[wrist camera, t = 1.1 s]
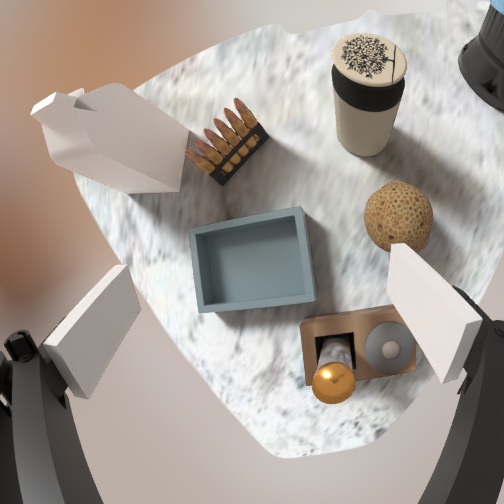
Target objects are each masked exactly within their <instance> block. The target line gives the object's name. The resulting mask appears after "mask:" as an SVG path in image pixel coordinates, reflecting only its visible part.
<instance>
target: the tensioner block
mask: <svg viewBox="0 0 504 504" xmlns="http://www.w3.org/2000/svg"><path fill="white" fill-rule="evenodd" d="M349 332H353V342H354V355H351V360H352V369H353V373H354V378H355V381H359V380H366V379H373V378H379V377H385V376H391V375H396V374H401V373H406V372H411V371H416V351H415V337H414V336H413V334H412V333H411V331H410V329H409V328H408V326H407V325H406V323H405V321H404V320H403V318H402V317H401V315H400V314H399V312H398V311H397V309H396V308H395V306H394V305H393V304H391V305H386V306H380V307H374V308H368V309H361V310H355V311H348V312H341V313H334V314H326V315H319V316H311V317H305V318H304V320H303V321H302V323H301V324H300V333H301V342H302V351H303V360H304V370H305V380H306V386H312V382H313V378H314V375H315V373H316V371H317V367H318V363H319V359H320V355H321V352H320V342H319V336H326V335H334V334H342V333H349Z"/></svg>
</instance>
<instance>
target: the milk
mask: <svg viewBox="0 0 504 504" xmlns="http://www.w3.org/2000/svg"><path fill="white" fill-rule="evenodd" d="M31 116H32V117H34V118H35V119H36V120H38V121H39V122H41V123H42V128H43V132H44V136H45V140H46V143H47V147H48V150H49V153H50V156H51V158H52V160H53V161H54V163H55V164H57V165H58V166H61V167H63V168H65V169H68V170H70V171H73V172H75V173H78V174H80V175H82V176H85V177H87V178H90V179H92V180H95V181H97V182H99V183H102V184H104V185H107V186H109V187H112V188H114V189H116V190H119V191H121V192H124V193H126V194H137V193H161V192H180V186H181V179H182V172H183V165H184V159H185V152H184V151H185V150H186V147H187V141H188V135H189V129H187V128H186V127H185V126H183V125H182V124H180V123H179V122H178V121H176V120H175V119H173V118H172V117H170V116H169V115H168V114H166V113H165V112H163V111H162V110H160V109H159V108H157V107H156V106H154V105H153V104H151V103H150V102H148V101H147V100H145V99H144V98H142V97H141V96H139V95H138V94H136V93H135V92H133V91H132V90H130V89H128V88H127V87H126V86H124V85H122V84H120V83H111V84H108V85H105V86H103V87H100V88H98V89H95V90H93V91H91V92H88V93H86V94H85V93H84V89H83V88H81V89H79V90H76V91H74V92H72V93H70V94H62V93H59V92H55V93H54V94H52V95H50V96H49V97H47V98H45V99H44V100H42V101H41V102H39V103H37V104H36V105H34V107H33V109H32V112H31Z"/></svg>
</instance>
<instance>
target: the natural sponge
mask: <svg viewBox="0 0 504 504" xmlns="http://www.w3.org/2000/svg"><path fill="white" fill-rule="evenodd" d="M432 219H433V211H432V207H431V204H430V202H429V200H428V198H427V197H426V196H425V195H424V193H422V192H421V191H420V190H419V189H417V188H416V187H414V186H413V185H411V184H408V183H406V182H403V181H391V182H389V183H387V184H386V185H384V186H383V187H382V188H381V189H380V190H378V191H377V192H375V193H373V194H372V195H371V197H370V198H369V200H368V202H367V204H366V208H365V214H364V221H365V226H366V230H367V232H368V234H369V236H370V237H371V239H372V240H373V242H374V243H375V244H376V245H377V246H378V247H380V248H381V249H383V250H385V251H387V252H391V244H398V243H405V244H406V245H407V246H409V247H410V248H411V249H412V250H413V251H414V252H418V251H420V250H421V249H423V248H424V247H425V246H426V244H427V242H428V239H429V236H430V232H431V226H432Z"/></svg>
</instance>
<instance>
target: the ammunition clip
mask: <svg viewBox="0 0 504 504" xmlns="http://www.w3.org/2000/svg"><path fill="white" fill-rule="evenodd" d="M234 104H235V107H236V109H237V110H238V112H239V114H240V117H241V119H242V120H243V121H244V123H243V121H242V120H241V119H239V118H238V117H237V116H236V115H235V114H234V113H233V112H232V111H231V110H230V109H228V108H224V114H225V116H226V118H227V119H228V121H229V122H230V124H231V126H232V128H233V129H234V130H235V132H234V131H233V130H232V129H231V128H229V127H228V126H227V125H226V124H225V123H224V122H223V121H221V120H219V119H217V118H214V124H215V126H216V128H217V129H218V130H219V131H220V133H221V134H222V136H223V138H224V139H225V140H226V141H227V142H226V141H225V140H224V139H223V138H221V137H219V136H218V135H217V134H216V133H215V132H213V131H212V130H209V129H204V133H205V135H206V137H207V138H208V139H209V140H210V141H211V143H212V144H213V146H214V147H215V148H216V149H217V150H218V151H217V150H216V149H215V148H213V147H211V146H209V145H208V144H206V143H205V142H203V141H202V140H199V139H194V143H195V145H196V146H197V148H198V149H199V150H200V151H201V152H202V153H203V154H204V155H205V156H206V157H207V158H208V159H209V160H208V159H206V158H205V157H203V156H200V155H199V154H197V153H195V152H194V151H191V150H185V151H184V152H185V154H186V156H187V157H188V158H189V159H190V160H191V161H192V162H193V163H195V164H196V166H197V167H198V168H200V169H201V170H203V171H204V172H206V173H207V174H209V175H210V176H211V177H212V178H214V179H215V180H216V181H217V182H218V183H220V184H221V185H224V184H225V183H226V182H227V181H228V180H229V179H230V178H231V177H232V175H233V174H234V173H235V172H236V171H237V170H238V169H239V168H240V167H241V166H242V165H243V164H244V163H245V162H246V161H247V159H248V158H249V157H250V156H251V155H252V154H253V153H254V152H255V151H256V150H257V149H258V148H259V147H260V146H261V145H262V144H263V143H264V142H265V141H266V140H267V139H268V138H269V135H268V134H267V133H266V131H265V130H264V128H263V127H262V126H261V124H260V123H259V122H258V121H257V120H256V118H255V117H254V115H253V114H252V112H251V111H250V110H249V109H248V108H247V107H246V106H245V104H244V103H243V102H242V101H241V100H239V99H238V98H234ZM249 130H250V131H249ZM238 136H239V137H240V138H241V139H242V140H241V139H240V138H239V137H238ZM230 145H231V146H232V147H233V148H234V149H233V148H232V147H231V146H230ZM223 155H224V156H225V157H224V156H223ZM213 163H214V164H215V165H214V164H213ZM216 165H217V166H216Z"/></svg>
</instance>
